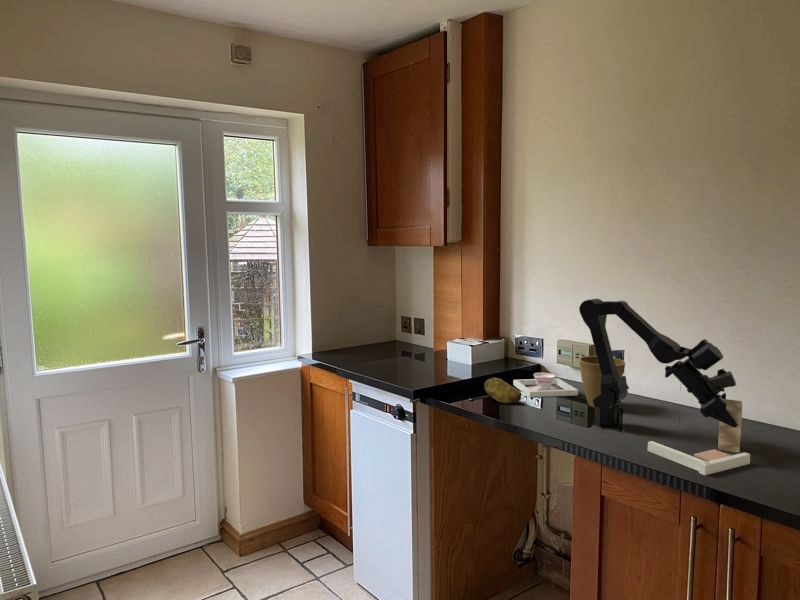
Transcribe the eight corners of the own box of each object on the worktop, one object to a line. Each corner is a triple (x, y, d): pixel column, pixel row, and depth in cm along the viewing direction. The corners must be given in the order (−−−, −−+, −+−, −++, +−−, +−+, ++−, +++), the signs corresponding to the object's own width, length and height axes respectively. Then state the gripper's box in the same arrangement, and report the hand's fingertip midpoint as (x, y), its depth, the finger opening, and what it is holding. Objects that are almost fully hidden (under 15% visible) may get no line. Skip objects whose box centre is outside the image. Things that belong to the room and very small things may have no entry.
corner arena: (644, 451, 159) (645, 442, 159) (688, 441, 166) (688, 433, 166) (704, 475, 143) (705, 465, 143) (749, 463, 150) (750, 454, 150)
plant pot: (581, 411, 196) (582, 364, 194) (575, 399, 211) (576, 355, 209) (628, 413, 194) (630, 365, 192) (618, 400, 208) (620, 356, 207)
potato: (508, 407, 200) (508, 384, 199) (480, 399, 210) (480, 377, 209) (523, 403, 205) (524, 380, 205) (495, 395, 215) (496, 374, 214)
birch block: (718, 449, 160) (721, 403, 159) (718, 443, 165) (720, 398, 163) (739, 452, 158) (742, 405, 157) (738, 446, 162) (741, 401, 161)
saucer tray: (529, 397, 213) (530, 391, 213) (513, 384, 231) (513, 379, 231) (578, 395, 215) (578, 390, 215) (557, 383, 234) (558, 378, 233)
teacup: (566, 392, 220) (567, 376, 220) (544, 397, 214) (544, 380, 213) (543, 385, 230) (543, 370, 230) (520, 389, 224) (521, 374, 223)
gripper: (717, 368, 153) (764, 415, 148) (717, 355, 169) (759, 397, 165) (682, 393, 157) (726, 440, 153) (685, 379, 173) (725, 421, 169)
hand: (736, 423), depth 160 cm, fingers closed on birch block, 5 cm apart
